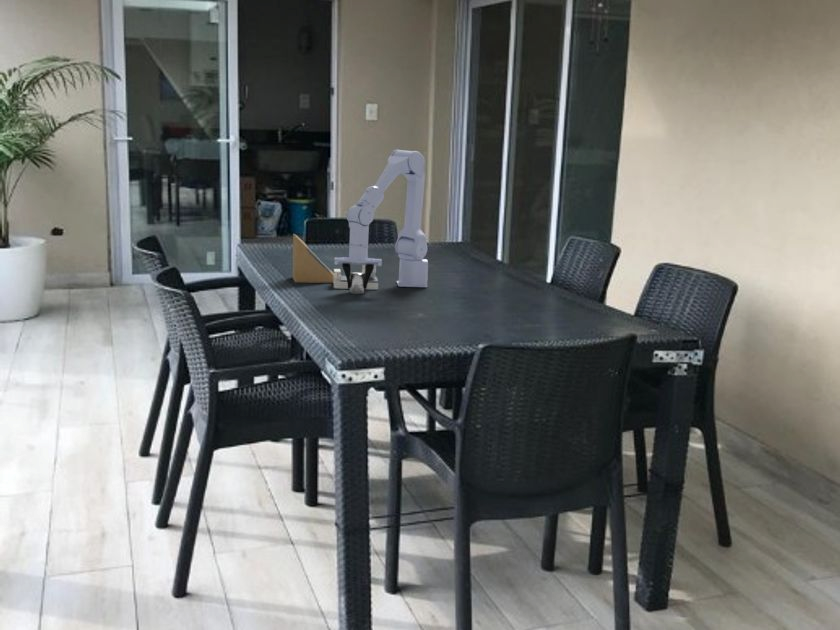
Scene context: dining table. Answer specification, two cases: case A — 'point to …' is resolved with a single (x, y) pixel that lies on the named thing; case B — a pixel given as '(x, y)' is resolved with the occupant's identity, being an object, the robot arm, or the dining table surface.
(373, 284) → the grey boxy piece
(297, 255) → the sandwich container
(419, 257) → the robot arm
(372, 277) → the steel weight
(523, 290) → the dining table surface
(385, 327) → the dining table surface
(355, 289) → the cylinder
